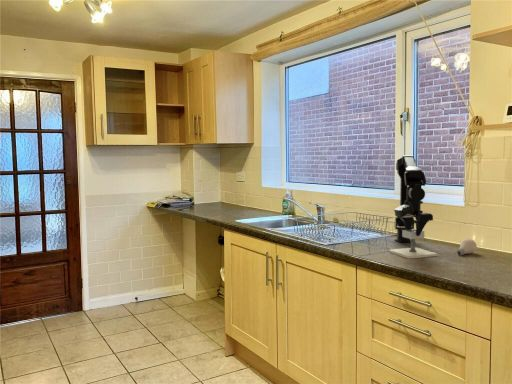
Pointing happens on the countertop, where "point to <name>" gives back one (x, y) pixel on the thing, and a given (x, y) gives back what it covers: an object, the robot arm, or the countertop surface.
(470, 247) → the light bulb
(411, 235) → the link
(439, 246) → the countertop surface
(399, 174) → the robot arm
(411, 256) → the plate
